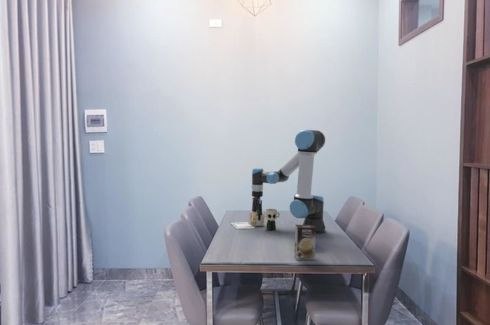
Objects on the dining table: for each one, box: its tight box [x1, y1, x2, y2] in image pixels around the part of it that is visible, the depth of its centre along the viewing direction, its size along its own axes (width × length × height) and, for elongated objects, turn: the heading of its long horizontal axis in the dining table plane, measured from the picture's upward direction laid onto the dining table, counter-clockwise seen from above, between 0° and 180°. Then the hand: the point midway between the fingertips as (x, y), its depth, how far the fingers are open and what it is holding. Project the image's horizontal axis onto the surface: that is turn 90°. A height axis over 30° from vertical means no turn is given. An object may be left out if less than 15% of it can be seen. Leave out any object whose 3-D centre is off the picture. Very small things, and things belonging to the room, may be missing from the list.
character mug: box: [262, 208, 281, 230], centre depth 235 cm, size 11×7×13 cm, turn 95°
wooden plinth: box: [248, 211, 265, 227], centre depth 248 cm, size 8×8×8 cm
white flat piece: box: [230, 221, 256, 231], centre depth 242 cm, size 16×12×1 cm
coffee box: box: [293, 224, 317, 261], centre depth 177 cm, size 9×6×16 cm
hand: (256, 223), depth 248 cm, fingers closed on wooden plinth, 8 cm apart
